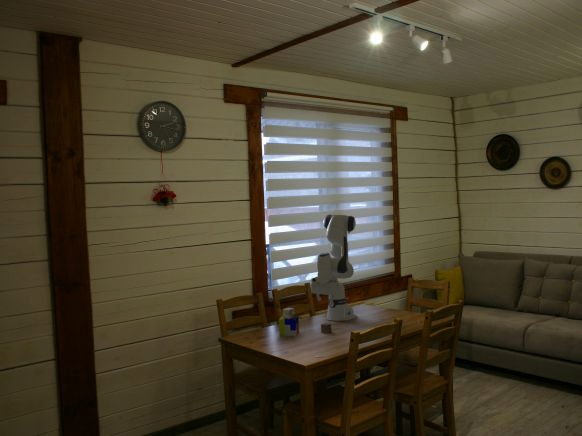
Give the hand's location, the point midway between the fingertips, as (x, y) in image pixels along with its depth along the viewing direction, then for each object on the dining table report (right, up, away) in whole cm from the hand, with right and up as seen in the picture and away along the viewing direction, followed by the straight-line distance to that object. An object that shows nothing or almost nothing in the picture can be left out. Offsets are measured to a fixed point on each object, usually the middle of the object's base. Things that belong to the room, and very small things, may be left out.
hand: (325, 301), depth 320 cm
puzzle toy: (-22, -20, -1) cm, 30 cm away
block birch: (-23, -10, -1) cm, 25 cm away
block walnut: (+1, -19, +1) cm, 19 cm away
